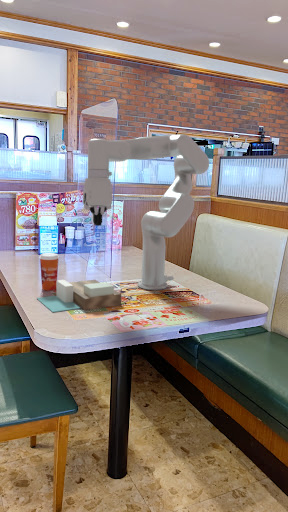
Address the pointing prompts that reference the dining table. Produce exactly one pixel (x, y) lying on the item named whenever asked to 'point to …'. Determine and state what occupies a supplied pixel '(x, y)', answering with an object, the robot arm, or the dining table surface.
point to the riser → (93, 302)
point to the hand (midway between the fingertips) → (97, 225)
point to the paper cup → (49, 270)
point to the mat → (57, 304)
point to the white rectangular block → (64, 291)
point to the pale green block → (98, 289)
